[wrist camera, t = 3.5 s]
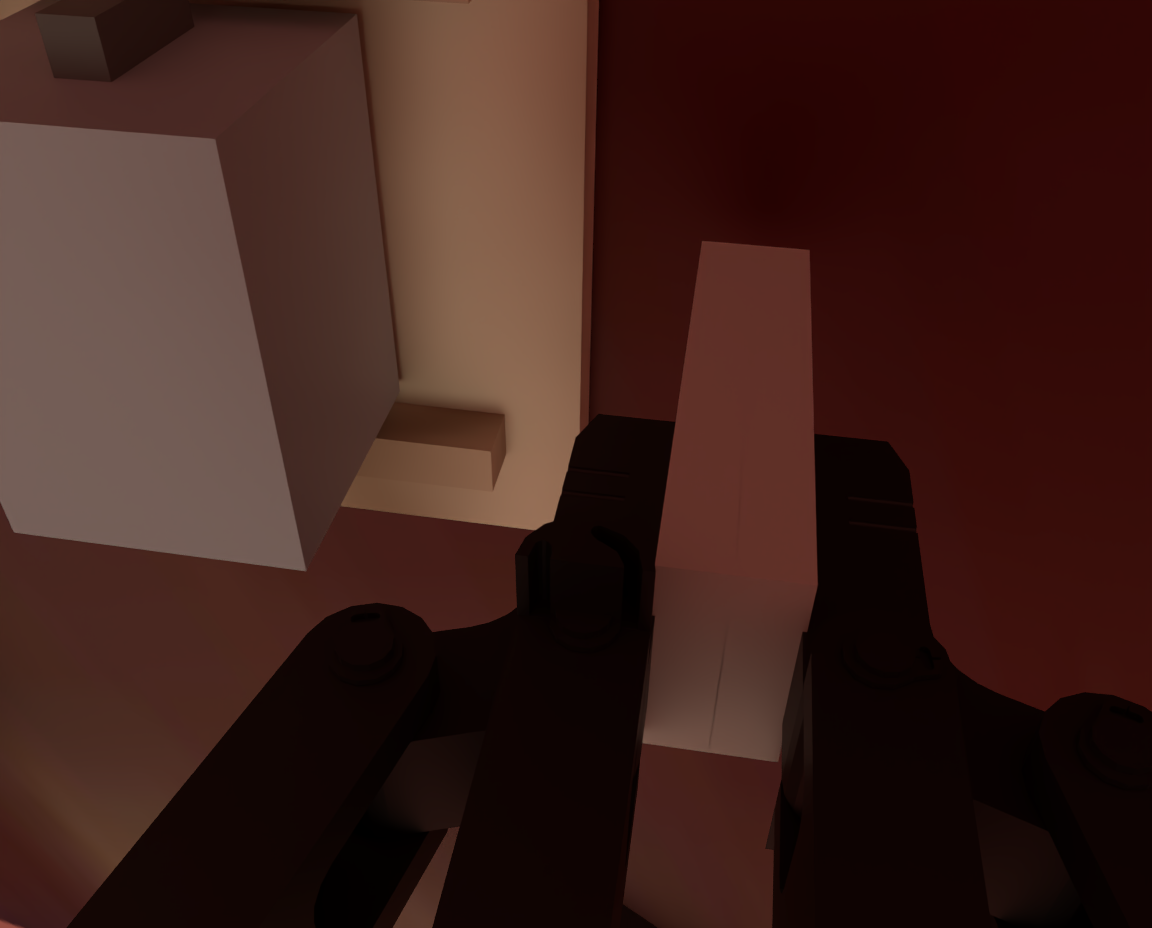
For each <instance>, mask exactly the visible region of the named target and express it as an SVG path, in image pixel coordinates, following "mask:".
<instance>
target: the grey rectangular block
mask: <svg viewBox="0 0 1152 928" xmlns="http://www.w3.org/2000/svg"><path fill="white" fill-rule="evenodd" d="M399 392H400V388H399V379H398V370H397V362H396V353H395V344H394V335H393V327H392V318H391V309H390V300H389V292H388V283H387V274H386V265H385V257H384V248H383V239H382V230H381V221H380V213H379V204H378V195H377V186H376V178H375V169H374V160H373V151H372V143H371V134H370V125H369V116H368V108H367V99H366V90H365V81H364V72H363V64H362V55H361V46H360V37H359V29H358V20H357V14H351V13H335V12H320V11H304V10H288V9H273V8H257V7H242V6H226V5H211V4H195V3H189V0H40V1H38V2H36V3H34V4H32V5H30V6H28V7H26V8H24V9H22V10H20V11H18V12H16V13H14V14H12V15H10V16H8V17H6V18H4V19H2V20H0V502H1V504H2V507H3V509H4V511H5V513H6V516H7V518H8V520H9V522H10V525H11V527H12V529H13V531H14V532H15V533H22V534H30V535H37V536H45V537H52V538H60V539H68V540H75V541H83V542H90V543H98V544H105V545H113V546H120V547H128V548H136V549H143V550H151V551H158V552H166V553H173V554H181V555H188V556H196V557H203V558H211V559H219V560H226V561H234V562H241V563H249V564H256V565H264V566H271V567H279V568H286V569H294V570H302V571H306V570H307V569H308V567H309V565H310V563H311V561H312V559H313V557H314V555H315V553H316V551H317V549H318V547H319V546H320V544H321V542H322V540H323V538H324V536H325V534H326V532H327V530H328V528H329V526H330V524H331V523H332V521H333V519H334V517H335V515H336V513H337V511H338V509H339V507H340V505H341V503H342V501H343V500H344V498H345V496H346V494H347V492H348V490H349V488H350V486H351V484H352V482H353V480H354V479H355V477H356V475H357V473H358V471H359V469H360V467H361V465H362V463H363V461H364V459H365V457H366V456H367V454H368V452H369V450H370V448H371V446H372V444H373V442H374V440H375V438H376V436H377V434H378V433H379V431H380V429H381V427H382V425H383V423H384V421H385V419H386V417H387V415H388V413H389V411H390V410H391V408H392V406H393V404H394V402H395V400H396V398H397V396H398V394H399Z"/></svg>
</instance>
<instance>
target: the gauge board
mask: <svg viewBox="0 0 1152 928" xmlns="http://www.w3.org/2000/svg"><path fill="white" fill-rule="evenodd" d="M38 1H40V0H0V20H2V19H4V18H6V17H8V16H10V15H12V14H14V13H16V12H18V11H20V10H22V9H24V8H26V7H28V6H30V5H32V4H34V3H36V2H38ZM189 3H195V4H211V5H226V6H242V7H257V8H273V9H288V10H304V11H320V12H335V13H351V14H357V20H358V29H359V37H360V46H361V55H362V64H363V72H364V81H365V90H366V99H367V108H368V116H369V125H370V134H371V143H372V151H373V160H374V169H375V178H376V186H377V195H378V204H379V213H380V221H381V230H382V239H383V248H384V257H385V265H386V274H387V283H388V292H389V300H390V309H391V318H392V327H393V335H394V344H395V353H396V362H397V370H398V379H399V388H400V392H399V394H398V396H397V398H396V400H395V402H394V404H393V406H392V408H391V410H390V411H389V413H388V415H387V417H386V419H385V421H384V423H383V425H382V427H381V429H380V431H379V433H378V434H377V436H376V438H375V440H374V442H373V444H372V446H371V448H370V450H369V452H368V454H367V456H366V457H365V459H364V461H363V463H362V465H361V467H360V469H359V471H358V473H357V475H356V477H355V479H354V480H353V482H352V484H351V486H350V488H349V490H348V492H347V494H346V496H345V498H344V500H343V501H342V503H341V505H340V506H345V507H353V508H361V509H369V510H377V511H385V512H393V513H401V514H409V515H417V516H425V517H433V518H441V519H449V520H457V521H465V522H474V523H482V524H490V525H498V526H506V527H514V528H522V529H530V530H537V529H538V528H539V527H541V526H542V525H544V524H546V523H549V522H552V521H554V517H555V513H556V510H557V506H558V502H559V498H560V495H561V494H562V487H563V483H564V479H565V476H566V472H567V471H568V464H569V460H570V457H571V453H572V449H573V445H574V442H575V438H576V437H577V435H578V434H579V433H580V432H581V431H582V430H583V429H584V428H585V427H586V426H587V425H588V424H589V383H590V343H591V303H592V263H593V222H594V182H595V142H596V102H597V61H598V21H599V0H189Z"/></svg>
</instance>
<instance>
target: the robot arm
mask: <svg viewBox="0 0 1152 928" xmlns="http://www.w3.org/2000/svg"><path fill="white" fill-rule="evenodd" d="M916 528H917V525H916V518H915V510H914V508H913V495H912V488H911V480H910V473H909V470H908V468H907V467H906V466H905V464H904V463H903V462H902V460H901V459H900V458H899V456H898V455H897V453H896V452H895V451H894V449H893V448H892V447H891V445H890V444H889V443H888V442H885V441H876V440H866V439H857V438H847V437H838V436H828V435H819V434H814V413H813V372H812V331H811V289H810V250H804V249H793V248H781V247H769V246H757V245H746V244H734V243H722V242H710V241H702V245H701V252H700V259H699V266H698V272H697V279H696V286H695V293H694V300H693V307H692V314H691V320H690V327H689V334H688V341H687V348H686V355H685V362H684V368H683V375H682V382H681V389H680V396H679V403H678V409H677V416H676V422H669V421H660V420H650V419H641V418H631V417H622V416H612V415H603V414H598V415H597V416H596V417H595V418H594V419H593V420H592V421H591V422H590V423H589V424H588V425H587V426H586V427H585V428H584V429H583V430H582V431H581V432H580V433H579V434H578V435H577V437H576V438H575V442H574V445H573V449H572V453H571V457H570V460H569V464H568V471H567V472H566V476H565V479H564V483H563V487H562V494H561V495H560V498H559V502H558V506H557V510H556V513H555V517H554V521H552V522H549V523H546V524H544V525H542V526H541V527H539V528H538V529H537V530H535V531H534V532H532V533H531V534H530V535H528V536H527V537H526V538H525V539H524V541H523V543H522V544H521V546H520V548H519V549H518V551H517V553H516V554H515V564H516V593H517V608H516V609H514V610H513V611H512V612H510V613H509V614H507V615H505V616H503V617H501V618H499V619H496V620H494V621H492V622H489V623H485V624H481V625H477V626H472V627H467V628H460V629H452V630H445V631H437V632H432V631H431V630H430V629H429V627H428V626H427V624H426V623H425V622H424V620H423V619H422V618H421V617H419V616H417V615H416V614H414V613H412V612H410V611H408V610H407V609H405V608H403V607H399V606H393V605H387V604H381V603H373V604H365V605H357V606H351V607H348V608H346V609H344V610H341V611H339V612H337V613H334V614H332V615H330V616H328V617H326V618H325V619H324V620H322V621H321V622H320V623H319V624H318V625H317V626H316V627H314V628H313V629H312V630H311V631H310V632H309V633H307V635H306V636H305V637H304V638H303V640H302V641H301V642H300V643H299V644H298V646H297V647H296V648H295V649H294V651H293V652H292V653H291V654H290V655H289V657H288V658H287V659H286V660H285V662H284V663H283V664H282V665H281V666H280V668H279V669H278V670H277V671H276V673H275V674H274V675H273V676H272V677H271V679H270V680H269V681H268V682H267V684H266V685H265V686H264V687H263V688H262V690H261V691H260V692H259V693H258V695H257V696H256V697H255V698H254V699H253V701H252V702H251V703H250V704H249V706H248V707H247V708H246V709H245V710H244V712H243V713H242V714H241V715H240V717H239V718H238V719H237V720H236V721H235V723H234V724H233V725H232V726H231V728H230V729H229V730H228V731H227V732H226V734H225V735H224V736H223V737H222V739H221V740H220V741H219V742H218V743H217V745H216V746H215V747H214V748H213V750H212V751H211V752H210V753H209V754H208V756H207V757H206V758H205V759H204V760H203V762H202V763H201V764H200V765H199V767H198V768H197V769H196V770H195V771H194V773H193V774H192V775H191V776H190V778H189V779H188V780H187V781H186V782H185V784H184V785H183V786H182V787H181V789H180V790H179V791H178V792H177V793H176V795H175V796H174V797H173V798H172V800H171V801H170V802H169V803H168V804H167V806H166V807H165V808H164V809H163V811H162V812H161V813H160V814H159V815H158V817H157V818H156V819H155V820H154V822H153V823H152V824H151V825H150V826H149V828H148V829H147V830H146V831H145V833H144V834H143V835H142V836H141V837H140V839H139V840H138V841H137V842H136V844H135V845H134V846H133V847H132V848H131V850H130V851H129V852H128V853H127V855H126V856H125V857H124V858H123V859H122V861H121V862H120V863H119V864H118V866H117V867H116V868H115V869H114V870H113V872H112V873H111V874H110V875H109V876H108V878H107V879H106V880H105V881H104V883H103V884H102V885H101V886H100V887H99V889H98V890H97V891H96V892H95V894H94V895H93V896H92V897H91V898H90V900H89V901H88V902H87V903H86V905H85V906H84V907H83V908H82V909H81V911H80V912H79V913H78V914H77V916H76V917H75V918H74V919H73V920H72V922H71V923H70V924H69V925H68V927H67V928H393V926H394V924H395V922H396V921H397V919H398V917H399V915H400V914H401V912H402V910H403V908H404V907H405V905H406V903H407V901H408V900H409V898H410V896H411V894H412V893H413V891H414V889H415V887H416V886H417V884H418V882H419V880H420V879H421V877H422V875H423V873H424V872H425V870H426V868H427V866H428V865H429V863H430V861H431V859H432V858H433V856H434V854H435V852H436V850H437V849H438V847H439V845H440V843H441V842H442V840H443V838H444V836H445V835H446V833H447V830H448V828H451V827H457V826H460V828H459V832H458V835H457V839H456V843H455V846H454V850H453V854H452V857H451V861H450V865H449V868H448V872H447V876H446V879H445V883H444V887H443V890H442V894H441V898H440V901H439V905H438V909H437V912H436V916H435V920H434V924H433V927H432V928H620V920H621V912H622V905H623V897H624V889H625V881H626V874H627V866H628V858H629V851H630V843H631V835H632V827H633V820H634V812H635V804H636V797H637V789H638V777H639V765H640V756H641V749H642V743H646V744H653V745H660V746H667V747H674V748H681V749H688V750H696V751H703V752H710V753H717V754H724V755H731V756H738V757H745V758H752V759H759V760H766V761H773V762H778V759H779V755H780V750H781V746H782V780H781V784H780V788H779V792H778V797H777V801H776V805H775V809H774V814H773V818H772V822H771V827H770V831H769V835H768V839H767V844H766V848H765V849H772V850H774V872H773V924H772V928H1152V712H1151V711H1149V710H1148V709H1147V708H1145V707H1143V706H1141V705H1138V704H1135V703H1133V702H1130V701H1127V700H1125V699H1122V698H1120V697H1117V696H1114V695H1106V694H1096V693H1086V692H1084V693H1080V694H1076V695H1072V696H1068V697H1064V698H1060V699H1059V700H1058V701H1057V702H1056V703H1055V704H1053V705H1052V706H1051V707H1050V708H1049V709H1048V710H1047V711H1045V712H1044V711H1042V710H1039V709H1036V708H1034V707H1031V706H1029V705H1026V704H1024V703H1021V702H1018V701H1016V700H1013V699H1011V698H1008V697H1006V696H1003V695H1001V694H998V693H996V692H994V691H992V690H990V689H988V688H986V687H984V686H982V685H980V684H977V683H976V682H975V681H973V680H972V679H970V678H969V677H968V676H966V675H965V674H963V673H962V672H960V671H959V670H958V669H957V668H956V667H955V666H954V665H953V664H952V663H951V662H950V660H949V657H948V654H947V652H946V649H945V648H944V647H943V646H942V645H941V644H940V643H939V642H938V641H937V640H936V639H935V638H934V637H933V633H932V630H931V627H930V623H929V615H928V608H927V600H926V593H925V585H924V578H923V570H922V563H921V555H920V548H919V540H918V533H916Z"/></svg>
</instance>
